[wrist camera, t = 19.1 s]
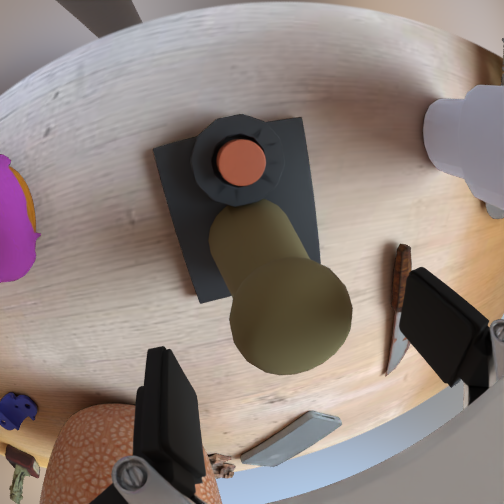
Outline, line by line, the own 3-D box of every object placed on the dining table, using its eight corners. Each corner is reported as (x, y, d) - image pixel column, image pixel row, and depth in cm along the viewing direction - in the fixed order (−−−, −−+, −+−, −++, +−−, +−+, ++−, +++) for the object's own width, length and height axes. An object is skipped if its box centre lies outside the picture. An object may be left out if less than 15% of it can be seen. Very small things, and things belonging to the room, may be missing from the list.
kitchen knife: (411, 363, 33) (386, 381, 32) (404, 356, 34) (379, 374, 33) (434, 234, 23) (403, 252, 22) (423, 228, 24) (391, 245, 23)
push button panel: (152, 137, 17) (144, 137, 14) (294, 108, 18) (310, 104, 15) (199, 295, 22) (200, 317, 19) (315, 264, 23) (330, 281, 20)
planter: (151, 359, 24) (148, 556, 7) (237, 441, 33) (264, 553, 16) (35, 394, 24) (5, 511, 7) (128, 461, 33) (130, 554, 16)
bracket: (-11, 414, 19) (-8, 404, 21) (11, 434, 21) (12, 424, 23) (20, 391, 23) (23, 381, 25) (43, 414, 24) (44, 403, 27)
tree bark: (224, 472, 38) (229, 481, 36) (173, 456, 33) (177, 467, 31) (245, 456, 39) (251, 465, 37) (197, 438, 34) (202, 450, 31)
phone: (312, 416, 31) (309, 409, 33) (238, 463, 35) (237, 457, 36) (344, 423, 35) (341, 417, 36) (274, 467, 38) (272, 461, 39)
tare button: (212, 144, 15) (213, 145, 14) (255, 135, 15) (261, 135, 14) (221, 185, 16) (224, 191, 15) (262, 176, 17) (269, 180, 15)
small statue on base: (42, 467, 35) (39, 513, 22) (16, 456, 32) (10, 501, 19) (34, 454, 32) (29, 507, 19) (5, 442, 29) (-2, 492, 16)
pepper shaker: (299, 261, 21) (373, 361, 11) (224, 287, 21) (250, 409, 11) (281, 186, 19) (373, 249, 9) (196, 214, 18) (197, 312, 8)
